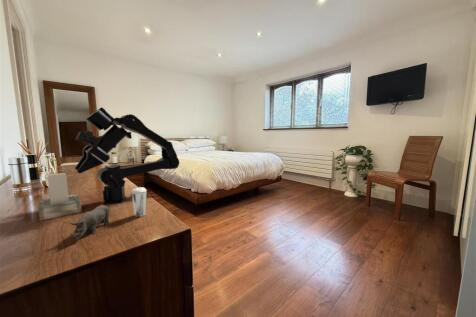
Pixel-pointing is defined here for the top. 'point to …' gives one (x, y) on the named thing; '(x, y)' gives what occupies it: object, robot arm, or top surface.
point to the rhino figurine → (91, 221)
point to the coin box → (59, 207)
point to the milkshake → (139, 201)
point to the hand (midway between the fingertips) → (77, 170)
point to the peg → (58, 188)
